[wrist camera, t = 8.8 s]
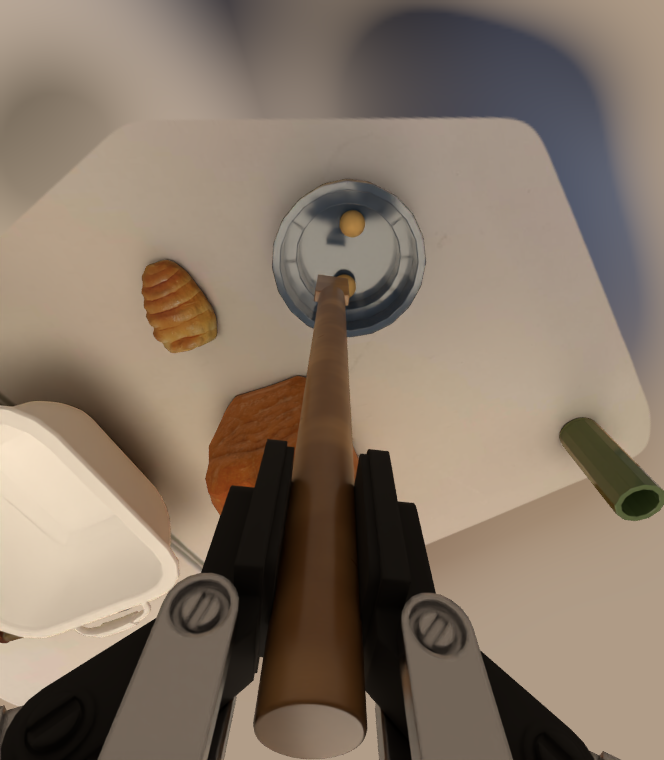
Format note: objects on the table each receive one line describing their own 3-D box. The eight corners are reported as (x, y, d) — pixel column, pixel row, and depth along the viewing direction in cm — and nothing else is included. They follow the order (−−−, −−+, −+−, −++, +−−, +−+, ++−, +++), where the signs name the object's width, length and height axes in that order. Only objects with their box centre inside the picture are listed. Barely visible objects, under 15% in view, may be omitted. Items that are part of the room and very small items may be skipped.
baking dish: (-103, 413, 52) (-226, 481, 41) (64, 312, 46) (-27, 360, 34) (88, 578, 66) (35, 664, 54) (238, 518, 59) (214, 601, 48)
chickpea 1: (366, 210, 40) (367, 213, 38) (362, 236, 41) (363, 240, 39) (341, 207, 40) (341, 209, 38) (338, 233, 41) (337, 237, 39)
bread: (321, 366, 48) (314, 444, 35) (390, 526, 59) (404, 632, 46) (213, 402, 50) (167, 488, 37) (299, 549, 62) (287, 656, 48)
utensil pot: (604, 419, 51) (674, 487, 40) (589, 450, 53) (652, 523, 42) (567, 415, 50) (627, 482, 40) (553, 446, 52) (607, 518, 42)
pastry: (131, 269, 43) (113, 278, 40) (190, 250, 42) (177, 257, 39) (172, 349, 47) (159, 363, 44) (227, 333, 47) (218, 346, 43)
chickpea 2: (357, 273, 43) (358, 279, 40) (353, 296, 44) (354, 303, 42) (333, 270, 42) (333, 276, 40) (331, 293, 44) (330, 300, 41)
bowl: (427, 188, 39) (441, 192, 34) (400, 323, 46) (408, 344, 40) (285, 170, 39) (276, 171, 34) (277, 308, 45) (269, 328, 40)
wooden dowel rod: (349, 272, 33) (396, 709, 6) (345, 294, 34) (375, 766, 7) (318, 267, 33) (235, 694, 6) (316, 290, 34) (231, 755, 7)
